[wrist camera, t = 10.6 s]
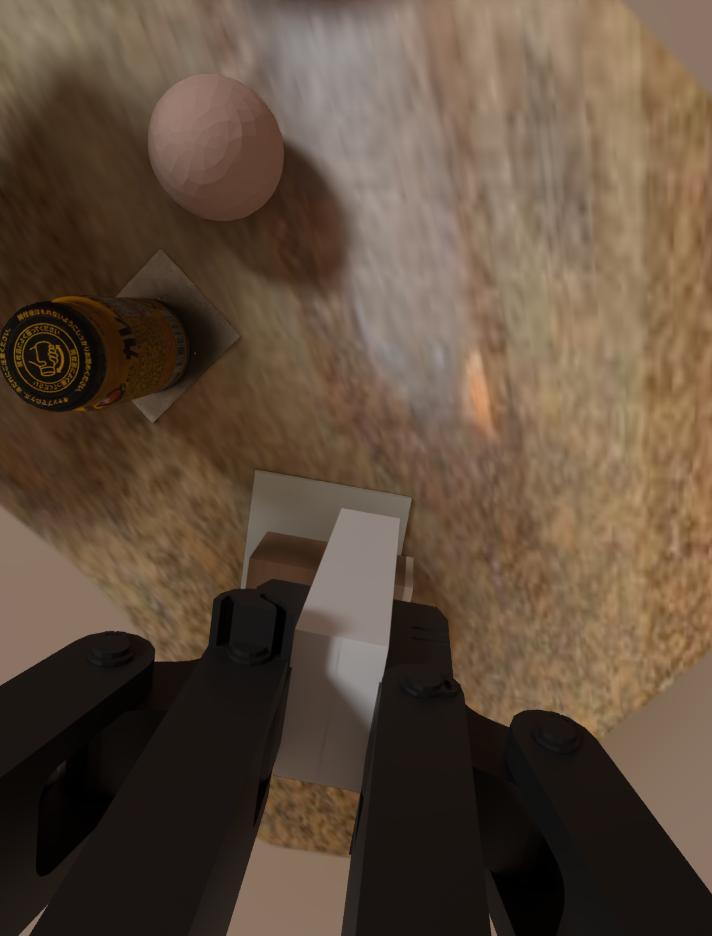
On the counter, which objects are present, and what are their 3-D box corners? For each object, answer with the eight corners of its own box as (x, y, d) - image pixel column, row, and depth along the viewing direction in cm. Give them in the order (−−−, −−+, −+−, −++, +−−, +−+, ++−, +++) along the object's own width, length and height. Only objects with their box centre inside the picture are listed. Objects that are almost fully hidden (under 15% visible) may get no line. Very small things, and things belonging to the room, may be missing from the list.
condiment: (75, 340, 43) (-50, 352, 32) (161, 248, 42) (62, 224, 30) (153, 422, 44) (59, 463, 33) (242, 335, 42) (175, 345, 31)
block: (400, 624, 45) (258, 598, 46) (413, 557, 44) (267, 531, 45) (398, 662, 41) (240, 632, 41) (413, 588, 39) (249, 558, 40)
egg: (176, 100, 39) (113, 46, 31) (295, 100, 39) (263, 45, 31) (180, 227, 41) (122, 207, 33) (295, 230, 40) (264, 210, 32)
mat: (234, 643, 47) (233, 645, 47) (256, 469, 44) (255, 470, 44) (379, 670, 47) (379, 673, 46) (411, 497, 44) (411, 498, 43)
